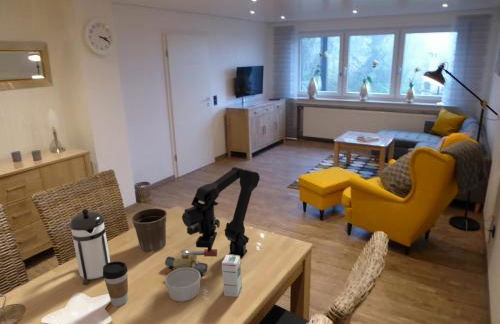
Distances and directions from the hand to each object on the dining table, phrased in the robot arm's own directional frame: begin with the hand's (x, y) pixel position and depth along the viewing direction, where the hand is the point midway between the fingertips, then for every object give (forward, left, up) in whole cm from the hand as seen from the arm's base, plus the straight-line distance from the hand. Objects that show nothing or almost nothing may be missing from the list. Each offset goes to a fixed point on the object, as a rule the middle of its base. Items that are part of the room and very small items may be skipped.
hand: (209, 250), depth 147 cm
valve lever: (+3, +3, -1) cm, 5 cm away
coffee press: (+45, +19, -9) cm, 50 cm away
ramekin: (+2, +18, -9) cm, 20 cm away
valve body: (+9, +5, -8) cm, 13 cm away
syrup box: (-15, +12, -9) cm, 21 cm away
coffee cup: (+23, +30, -9) cm, 39 cm away
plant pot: (+35, -8, -9) cm, 37 cm away
